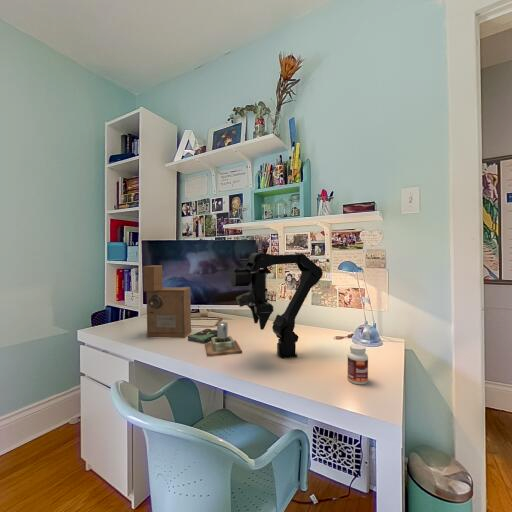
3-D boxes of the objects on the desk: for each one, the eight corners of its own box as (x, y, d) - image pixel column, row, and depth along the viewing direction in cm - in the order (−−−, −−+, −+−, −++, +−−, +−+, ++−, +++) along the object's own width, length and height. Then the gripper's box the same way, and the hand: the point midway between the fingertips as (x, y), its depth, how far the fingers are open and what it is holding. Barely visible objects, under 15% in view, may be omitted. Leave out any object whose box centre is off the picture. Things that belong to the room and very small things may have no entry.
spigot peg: (226, 344, 124) (226, 321, 124) (228, 347, 120) (228, 324, 120) (216, 345, 123) (216, 322, 123) (217, 348, 119) (217, 324, 119)
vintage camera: (143, 340, 135) (141, 266, 134) (155, 331, 149) (154, 264, 149) (182, 340, 134) (181, 266, 133) (191, 331, 148) (190, 264, 147)
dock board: (235, 342, 130) (235, 333, 130) (241, 353, 116) (241, 343, 116) (204, 345, 127) (204, 336, 126) (207, 356, 113) (207, 346, 113)
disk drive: (207, 333, 146) (187, 341, 133) (207, 328, 146) (187, 335, 133) (223, 336, 141) (204, 345, 128) (223, 330, 141) (204, 338, 128)
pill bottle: (357, 386, 87) (357, 351, 87) (343, 378, 93) (343, 345, 92) (372, 382, 90) (372, 348, 89) (358, 375, 95) (357, 342, 95)
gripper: (233, 283, 115) (233, 321, 116) (242, 289, 97) (243, 335, 98) (259, 282, 118) (260, 320, 118) (273, 288, 100) (274, 332, 100)
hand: (258, 326), depth 109 cm, fingers open, 9 cm apart
